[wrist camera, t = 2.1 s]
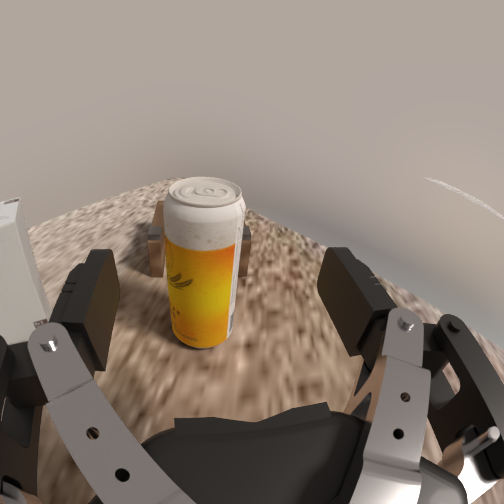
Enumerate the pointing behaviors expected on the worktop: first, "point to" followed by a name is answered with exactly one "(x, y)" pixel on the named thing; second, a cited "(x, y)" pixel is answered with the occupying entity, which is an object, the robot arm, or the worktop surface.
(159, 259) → the holder
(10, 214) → the skincare box
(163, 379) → the worktop surface
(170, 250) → the beer can
